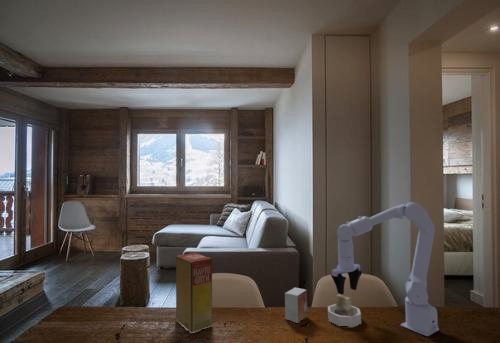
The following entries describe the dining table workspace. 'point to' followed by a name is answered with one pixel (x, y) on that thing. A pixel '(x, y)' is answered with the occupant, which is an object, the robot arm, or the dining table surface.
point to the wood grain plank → (343, 304)
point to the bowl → (344, 317)
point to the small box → (296, 304)
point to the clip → (342, 312)
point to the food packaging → (194, 291)
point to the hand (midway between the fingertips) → (347, 291)
